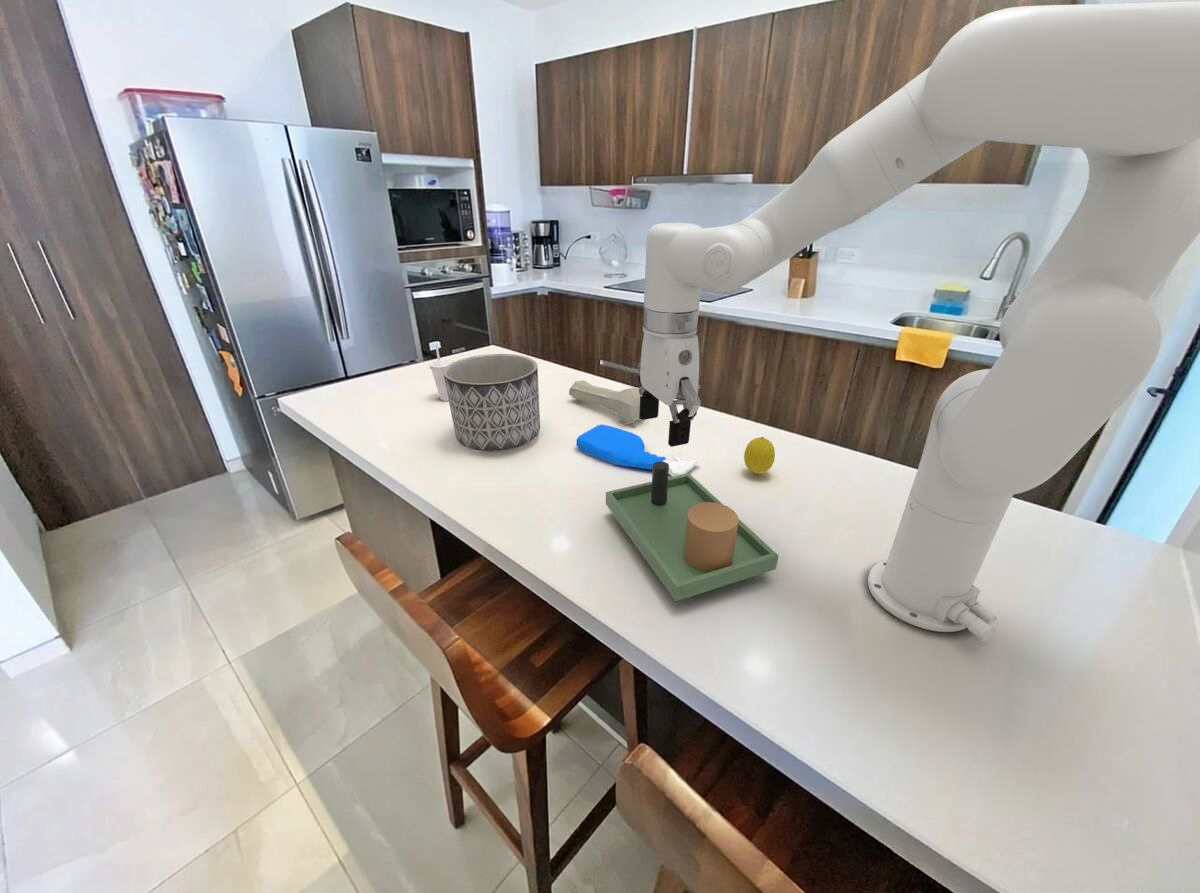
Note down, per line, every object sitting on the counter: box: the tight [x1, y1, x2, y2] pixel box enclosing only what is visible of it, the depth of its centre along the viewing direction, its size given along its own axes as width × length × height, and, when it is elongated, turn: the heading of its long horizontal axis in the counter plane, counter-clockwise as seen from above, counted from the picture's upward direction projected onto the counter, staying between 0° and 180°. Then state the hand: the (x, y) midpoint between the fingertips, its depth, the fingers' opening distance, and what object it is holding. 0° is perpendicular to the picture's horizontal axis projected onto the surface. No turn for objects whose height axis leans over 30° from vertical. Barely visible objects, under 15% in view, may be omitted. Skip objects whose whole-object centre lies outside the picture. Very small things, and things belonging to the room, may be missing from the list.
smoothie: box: [428, 346, 455, 402], centre depth 129 cm, size 6×6×14 cm
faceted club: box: [568, 379, 643, 425], centre depth 123 cm, size 9×8×25 cm
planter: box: [443, 353, 541, 452], centre depth 107 cm, size 19×19×16 cm
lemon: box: [743, 436, 776, 475], centre depth 94 cm, size 6×6×8 cm
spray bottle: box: [575, 424, 698, 477], centre depth 102 cm, size 3×11×24 cm
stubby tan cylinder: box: [684, 502, 739, 573], centre depth 69 cm, size 7×7×7 cm
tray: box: [605, 461, 779, 602], centre depth 75 cm, size 24×16×8 cm, turn 22°
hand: (662, 430), depth 77 cm, fingers open, 9 cm apart
